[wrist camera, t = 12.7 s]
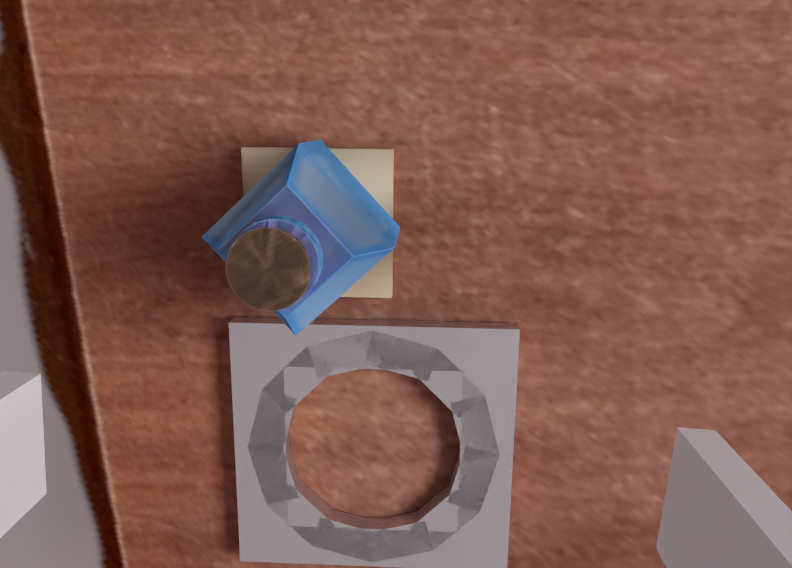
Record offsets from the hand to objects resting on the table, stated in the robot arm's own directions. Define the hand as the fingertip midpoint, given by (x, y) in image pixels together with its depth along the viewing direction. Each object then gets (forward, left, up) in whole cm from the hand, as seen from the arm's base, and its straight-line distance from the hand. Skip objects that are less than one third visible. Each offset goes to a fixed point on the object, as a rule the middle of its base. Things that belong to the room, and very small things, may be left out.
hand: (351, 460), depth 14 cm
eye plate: (+12, -1, -24) cm, 27 cm away
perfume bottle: (-1, -4, -24) cm, 24 cm away
